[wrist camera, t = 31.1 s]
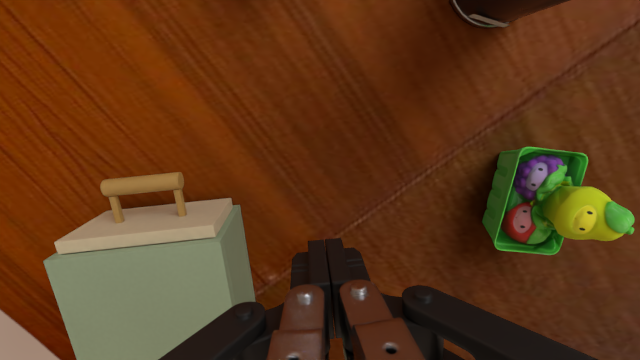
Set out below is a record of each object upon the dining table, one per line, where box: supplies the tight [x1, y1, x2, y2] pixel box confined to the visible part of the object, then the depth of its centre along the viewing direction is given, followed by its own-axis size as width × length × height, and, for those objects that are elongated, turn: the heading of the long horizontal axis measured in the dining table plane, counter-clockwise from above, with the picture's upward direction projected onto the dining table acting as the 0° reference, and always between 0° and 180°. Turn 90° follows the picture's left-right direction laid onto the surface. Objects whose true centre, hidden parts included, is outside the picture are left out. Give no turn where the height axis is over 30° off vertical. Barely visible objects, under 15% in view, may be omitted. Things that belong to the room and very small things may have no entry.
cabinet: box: [43, 205, 256, 360], centre depth 34 cm, size 18×15×10 cm
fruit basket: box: [482, 147, 634, 255], centre depth 34 cm, size 11×9×11 cm
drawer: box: [54, 172, 233, 254], centre depth 33 cm, size 21×14×8 cm, turn 5°
